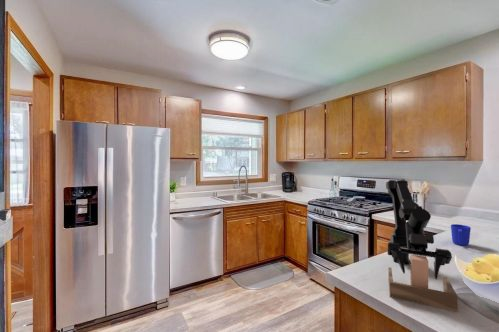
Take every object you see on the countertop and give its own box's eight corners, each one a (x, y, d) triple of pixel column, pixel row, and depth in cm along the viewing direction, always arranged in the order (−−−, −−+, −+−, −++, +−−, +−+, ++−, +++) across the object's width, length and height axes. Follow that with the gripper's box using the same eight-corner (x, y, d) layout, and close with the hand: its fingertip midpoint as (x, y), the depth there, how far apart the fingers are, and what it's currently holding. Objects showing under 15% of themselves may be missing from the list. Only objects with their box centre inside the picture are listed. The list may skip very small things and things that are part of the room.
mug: (449, 246, 128) (450, 227, 127) (451, 240, 137) (451, 223, 136) (470, 250, 122) (470, 230, 122) (470, 243, 131) (470, 225, 131)
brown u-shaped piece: (388, 279, 93) (388, 267, 93) (446, 291, 84) (446, 277, 84) (389, 296, 82) (389, 282, 82) (457, 311, 73) (457, 295, 73)
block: (410, 289, 86) (410, 254, 85) (425, 293, 83) (425, 256, 83) (412, 296, 82) (412, 259, 81) (428, 299, 80) (428, 261, 79)
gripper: (387, 221, 90) (388, 260, 81) (450, 227, 81) (460, 272, 72) (387, 235, 97) (388, 273, 88) (444, 242, 88) (452, 285, 79)
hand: (419, 276), depth 81 cm, fingers open, 9 cm apart
